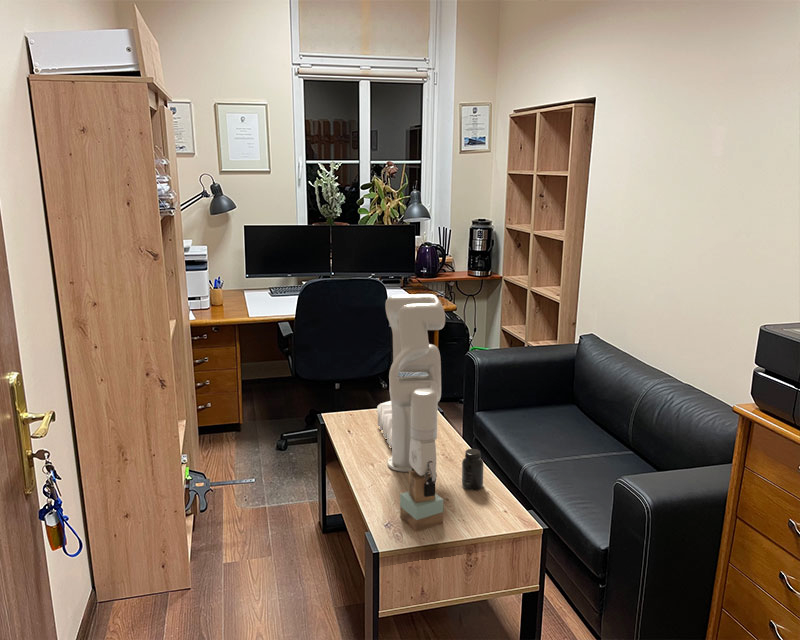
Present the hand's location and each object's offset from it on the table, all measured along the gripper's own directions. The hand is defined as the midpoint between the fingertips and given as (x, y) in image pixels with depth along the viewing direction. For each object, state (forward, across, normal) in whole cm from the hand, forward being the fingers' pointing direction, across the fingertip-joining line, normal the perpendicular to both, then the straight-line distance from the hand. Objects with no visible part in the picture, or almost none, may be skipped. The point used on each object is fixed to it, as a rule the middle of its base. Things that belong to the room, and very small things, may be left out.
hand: (423, 488), depth 187 cm
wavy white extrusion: (+11, -62, +16) cm, 64 cm away
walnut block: (+3, 0, 0) cm, 3 cm away
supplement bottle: (+10, -15, +23) cm, 29 cm away
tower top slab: (+7, 0, 0) cm, 7 cm away
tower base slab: (+11, 0, 0) cm, 11 cm away
